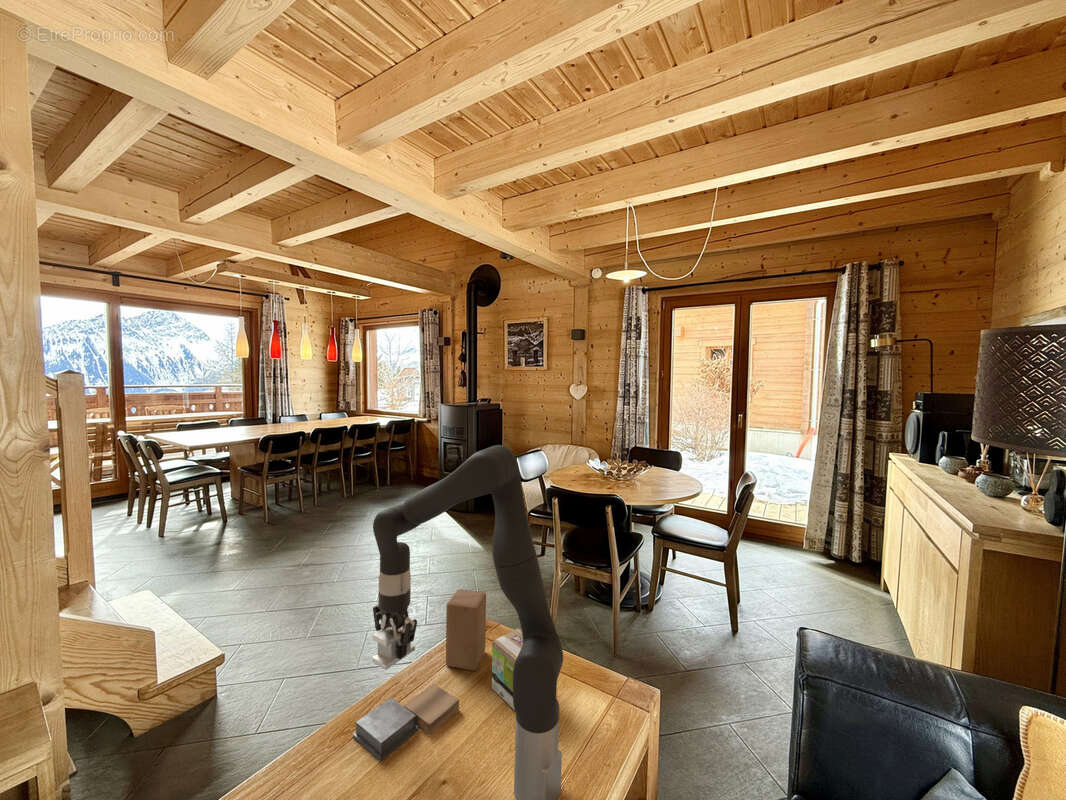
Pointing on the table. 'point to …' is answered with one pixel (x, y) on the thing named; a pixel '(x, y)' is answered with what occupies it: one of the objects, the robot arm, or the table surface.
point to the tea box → (505, 663)
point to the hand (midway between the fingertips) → (394, 652)
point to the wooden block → (465, 629)
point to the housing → (388, 648)
